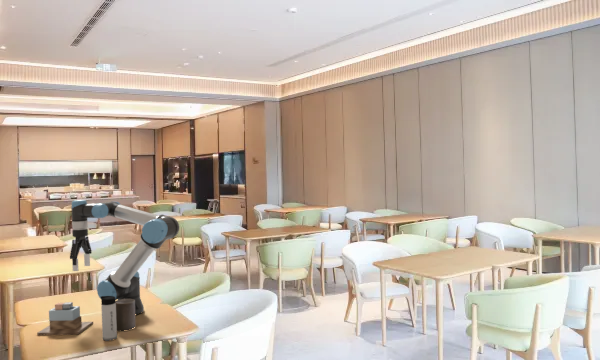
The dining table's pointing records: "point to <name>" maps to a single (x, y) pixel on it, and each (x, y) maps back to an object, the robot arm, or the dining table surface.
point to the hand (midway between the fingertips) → (81, 268)
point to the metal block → (67, 306)
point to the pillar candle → (125, 314)
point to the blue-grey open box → (64, 314)
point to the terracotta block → (58, 306)
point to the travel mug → (109, 318)
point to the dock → (64, 331)
